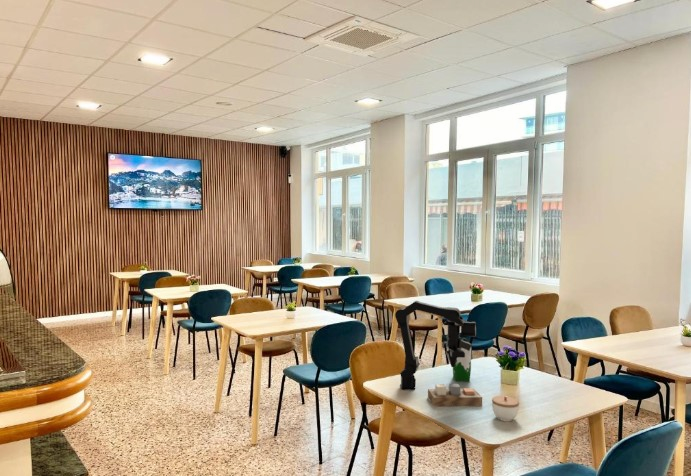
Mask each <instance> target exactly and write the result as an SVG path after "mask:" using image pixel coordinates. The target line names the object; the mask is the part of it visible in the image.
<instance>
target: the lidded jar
mask: <svg viewBox="0 0 691 476" xmlns="http://www.w3.org/2000/svg"><path fill="white" fill-rule="evenodd" d="M491 402H492V403H491V406H492V412H493V414H494V415H495V416H496V417H497V419H498V420H500V421H503V422H512V421H513V420H514V419H515V418H516V417H517V415H518V412H519V404H520V402H519V400H518V399H516V398H515V397H512V396H508V395H495V396H493V397H492V399H491Z"/></svg>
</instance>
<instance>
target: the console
mask: <svg viewBox="0 0 691 476" xmlns="http://www.w3.org/2000/svg"><path fill="white" fill-rule="evenodd" d="M472 389H473V391H474V395H464V393H463V388H460V395H451V394H450V393H449V388H446V395H437V394H436V393H435V388H429V389H427V398H428V400H429V401H430V403H431V404H432V406H433V407H436V408H437V407H438V408H439V407H440V408H441V407H482V406H483V396H482V395H481V394H480V393H479V392H478V391H477V390H476V389H475V388H472Z"/></svg>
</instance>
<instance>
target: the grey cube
mask: <svg viewBox="0 0 691 476" xmlns="http://www.w3.org/2000/svg"><path fill="white" fill-rule="evenodd" d="M448 389H449V393H450V394H451V395H460V389H461V386H460V385H459V384H458V383H449V386H448Z"/></svg>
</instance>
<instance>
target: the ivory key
mask: <svg viewBox="0 0 691 476" xmlns="http://www.w3.org/2000/svg"><path fill="white" fill-rule="evenodd" d="M434 386H435V388H434V389H435V393H436V394H437V395H446V389H447V385H446V384H444V383H435V384H434Z"/></svg>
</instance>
